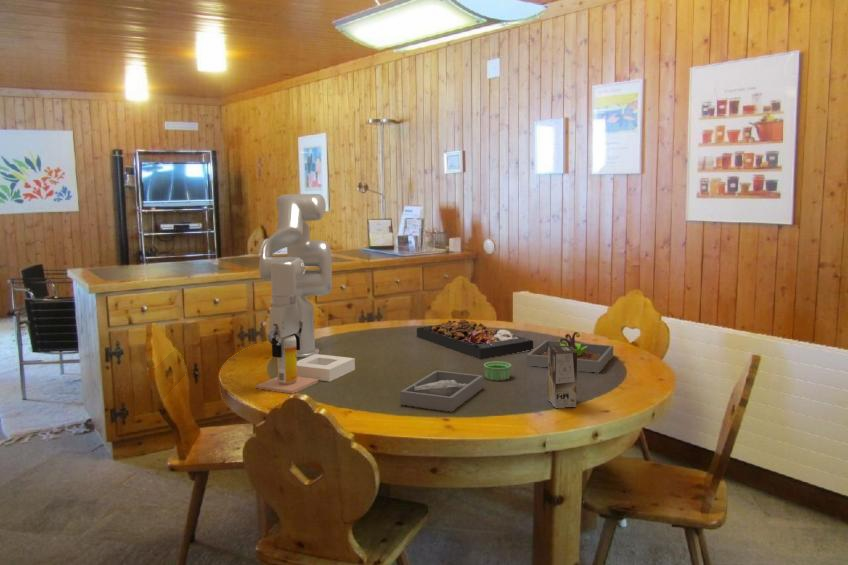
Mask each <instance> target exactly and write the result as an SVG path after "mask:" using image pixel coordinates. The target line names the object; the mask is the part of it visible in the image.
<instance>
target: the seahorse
mask: <svg viewBox="0 0 848 565" xmlns="http://www.w3.org/2000/svg"><path fill="white" fill-rule="evenodd" d="M466 385H467V384H465V383H464V384H460V383H457V382H456V381H455V380H450V381H449V380H445V381H444V380H440V381H438V382H434V383H428V384H425V385H420V386H418V387H417V386H416V385H413V386H414V389H413V391H412V392H417V393H425V394H433V395H441V396H448V397H450V396H452V395H453V394H454V393H456V392H457V391H459V390H460V389H462V388H463V387H464V386H466Z"/></svg>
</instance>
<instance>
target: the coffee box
mask: <svg viewBox="0 0 848 565" xmlns="http://www.w3.org/2000/svg"><path fill="white" fill-rule="evenodd" d="M547 352H548V368H547V401H548V402H549V401H550V402H551V403H552V404H551V403H550V402H549V403H550V404H551V405H552V407H553V408H554V407H555V409H556V408H558V409H565V408H564V407H576V408H577V387H578V386H577V381H578V380H577V379H578V378H577V377H578V374H577V373H578V371H577V352H576V351H574V350H573V349H572V348H571V347H569V346H549V347H548V351H547Z"/></svg>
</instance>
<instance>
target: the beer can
mask: <svg viewBox="0 0 848 565" xmlns="http://www.w3.org/2000/svg"><path fill="white" fill-rule="evenodd" d="M276 340H278V338H276ZM280 345H281V348H282V357H281V358H278V357H276V365H277V368H276V369H277V372H276V373H277V374H276V375H277V377H278V381H279V383H280V384H293V383H295V382H296V380H297V361H298V357H297V352H296V338H295V335H290V336H287V337H284V338H282V340H281V343H280Z"/></svg>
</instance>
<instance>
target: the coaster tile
mask: <svg viewBox="0 0 848 565" xmlns="http://www.w3.org/2000/svg"><path fill="white" fill-rule="evenodd" d="M317 383H319V380H318V379H313V378H305V377H297V380H296V382H295V383H293V384H280V383H279V381H278V376H276V377H273V378H271V379H268V380H266V381H264V382H262V383H259V384H256V385H255V389H256V388H259V389H258V390H261V389H265V390H264V391H268V390H271V391H270V392H275V391H277V393H282V392H284V394H289V393H290V395H294V394H296V393H298V392H301V391H302V390H304V389H307V388H309V387H311V386H313V385H315V384H317ZM295 392H296V393H295Z"/></svg>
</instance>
